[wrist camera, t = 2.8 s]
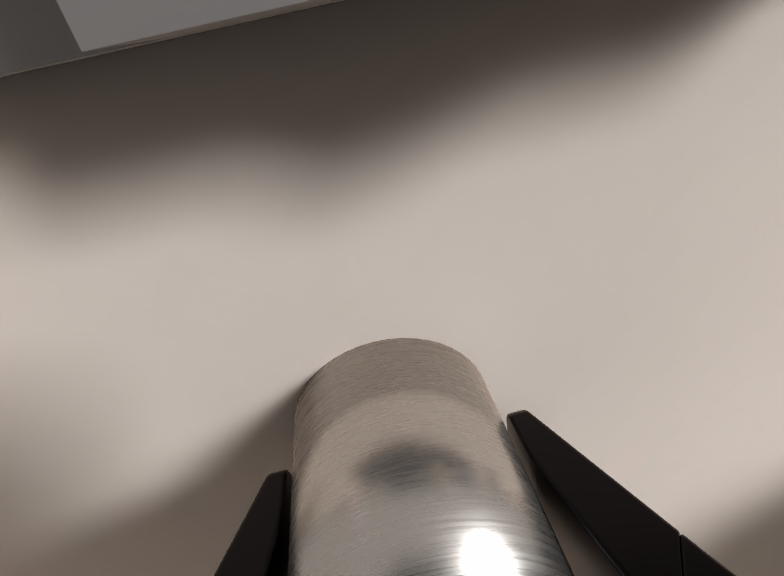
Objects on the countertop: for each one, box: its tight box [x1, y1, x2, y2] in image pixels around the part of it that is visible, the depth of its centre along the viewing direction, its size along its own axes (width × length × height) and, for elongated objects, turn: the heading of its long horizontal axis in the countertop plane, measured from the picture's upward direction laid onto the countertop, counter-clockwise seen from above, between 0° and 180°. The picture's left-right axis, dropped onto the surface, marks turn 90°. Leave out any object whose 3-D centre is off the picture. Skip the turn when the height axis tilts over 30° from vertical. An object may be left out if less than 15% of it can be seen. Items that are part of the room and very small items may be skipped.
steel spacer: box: [288, 338, 574, 576], centre depth 8 cm, size 4×4×5 cm
